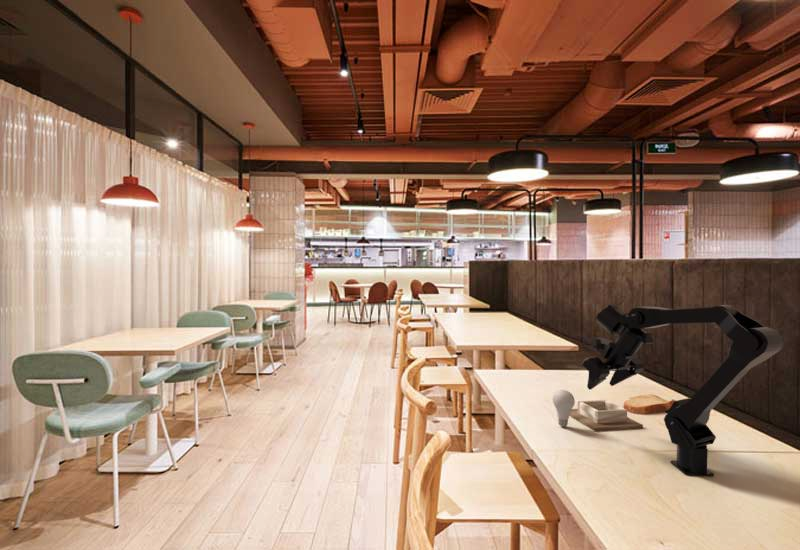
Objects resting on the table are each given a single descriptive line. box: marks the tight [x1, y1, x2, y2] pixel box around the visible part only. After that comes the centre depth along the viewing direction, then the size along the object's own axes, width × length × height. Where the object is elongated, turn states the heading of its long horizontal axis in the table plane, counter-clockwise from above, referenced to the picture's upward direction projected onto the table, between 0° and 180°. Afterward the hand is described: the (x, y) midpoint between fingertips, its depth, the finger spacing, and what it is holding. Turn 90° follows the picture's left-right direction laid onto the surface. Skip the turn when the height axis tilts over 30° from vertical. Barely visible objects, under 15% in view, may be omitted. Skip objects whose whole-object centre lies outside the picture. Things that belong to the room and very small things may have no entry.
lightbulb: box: [552, 389, 576, 428], centre depth 128 cm, size 6×6×11 cm
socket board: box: [569, 399, 644, 432], centre depth 134 cm, size 16×16×4 cm
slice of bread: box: [622, 393, 676, 415], centre depth 147 cm, size 18×18×4 cm
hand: (599, 386), depth 125 cm, fingers open, 9 cm apart
